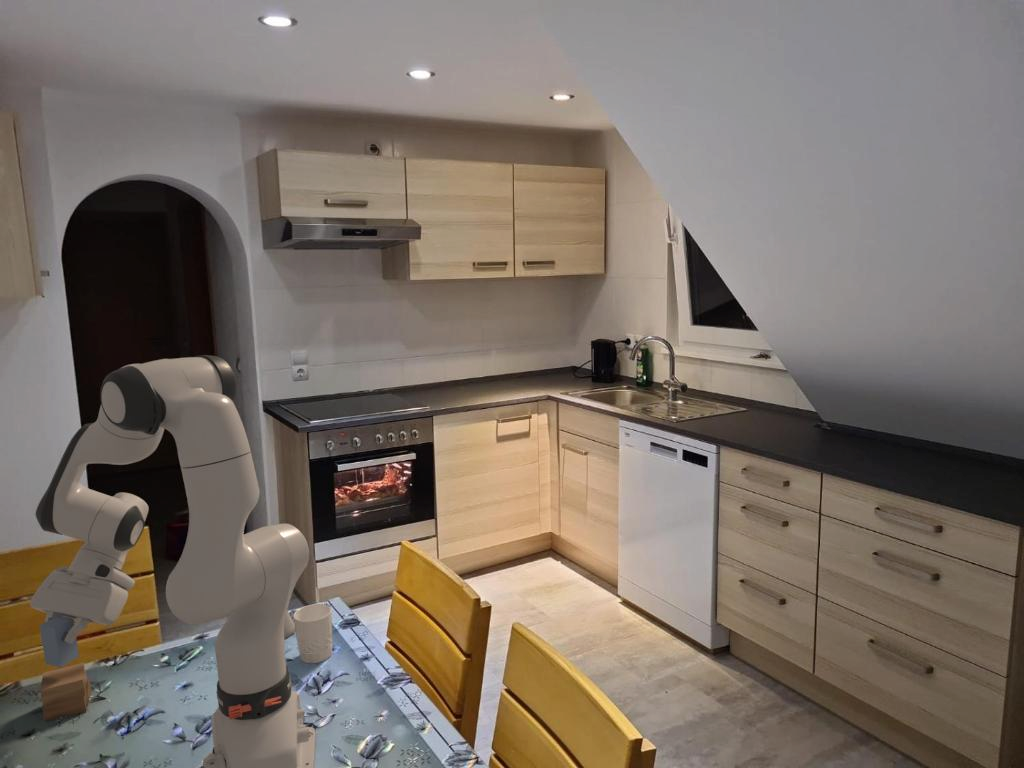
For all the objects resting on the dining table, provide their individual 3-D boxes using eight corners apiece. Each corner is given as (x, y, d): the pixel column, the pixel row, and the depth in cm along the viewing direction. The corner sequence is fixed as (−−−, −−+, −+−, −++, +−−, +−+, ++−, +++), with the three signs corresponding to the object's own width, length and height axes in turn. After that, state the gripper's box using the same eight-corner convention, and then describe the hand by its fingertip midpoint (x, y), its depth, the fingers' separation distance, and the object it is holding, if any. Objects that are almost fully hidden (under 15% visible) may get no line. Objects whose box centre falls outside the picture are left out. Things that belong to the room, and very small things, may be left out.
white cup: (289, 658, 162) (285, 615, 160) (318, 642, 168) (314, 600, 166) (314, 669, 157) (310, 624, 155) (342, 652, 164) (339, 609, 162)
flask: (286, 642, 169) (282, 600, 167) (257, 640, 170) (253, 598, 168) (301, 626, 176) (298, 586, 174) (273, 624, 177) (269, 584, 175)
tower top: (85, 695, 145) (82, 679, 144) (43, 707, 142) (40, 690, 141) (86, 678, 151) (83, 662, 150) (45, 689, 148) (43, 672, 147)
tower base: (86, 713, 145) (83, 697, 145) (44, 723, 143) (41, 706, 142) (91, 694, 152) (89, 678, 151) (51, 703, 149) (49, 687, 148)
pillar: (79, 656, 147) (73, 618, 145) (60, 667, 143) (54, 628, 142) (64, 653, 148) (58, 615, 147) (45, 663, 144) (39, 625, 143)
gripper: (45, 559, 153) (5, 626, 145) (120, 571, 145) (82, 643, 138) (68, 570, 158) (31, 636, 150) (141, 583, 150) (106, 653, 143)
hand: (56, 640), depth 144 cm, fingers closed on pillar, 4 cm apart
